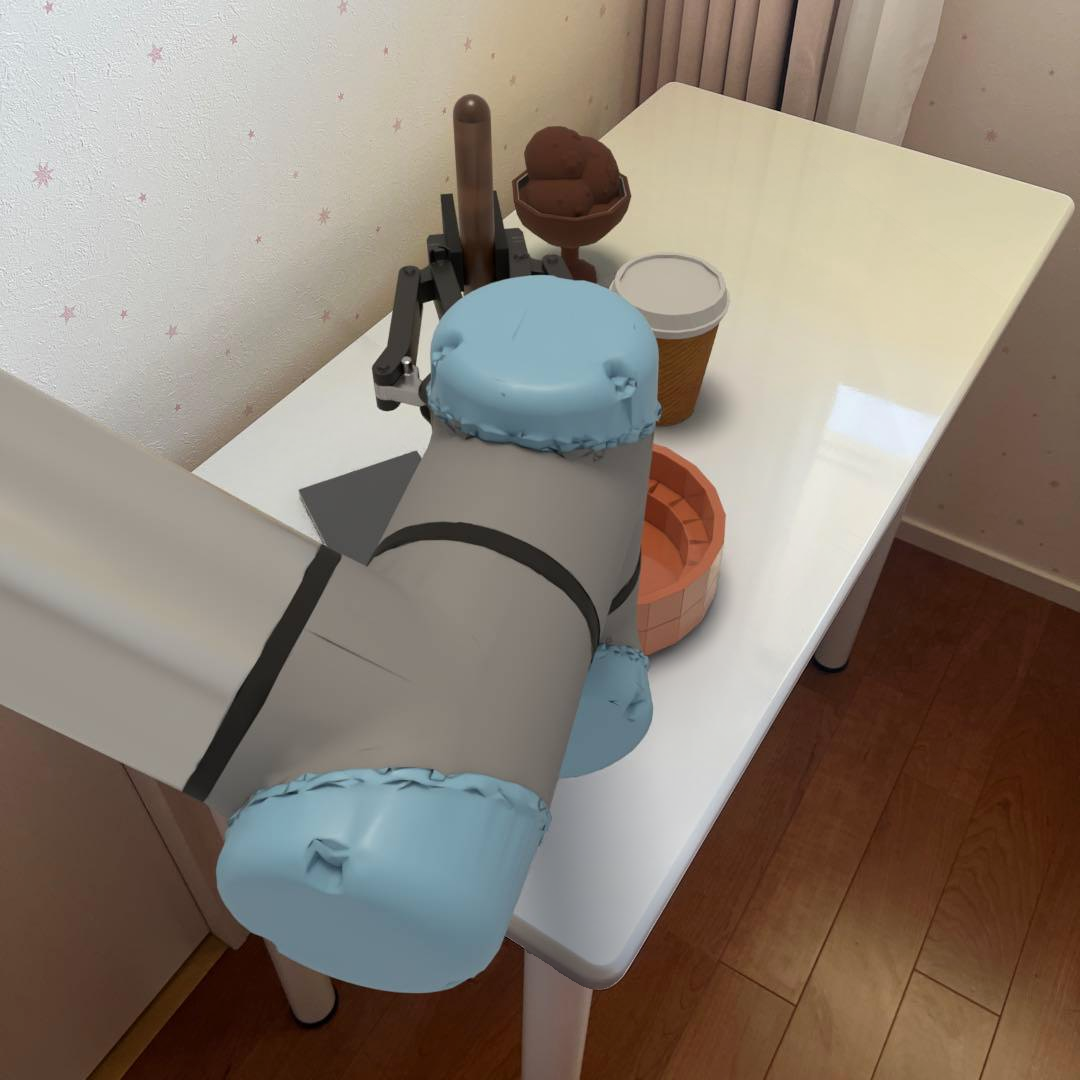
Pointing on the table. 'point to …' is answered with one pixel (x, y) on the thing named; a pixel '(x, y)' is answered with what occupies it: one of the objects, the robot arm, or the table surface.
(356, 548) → the dark grey square tile
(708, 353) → the disposable coffee cup
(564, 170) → the ice cream bowl
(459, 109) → the paper towel holder
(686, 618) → the terracotta round bowl
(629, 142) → the table surface
